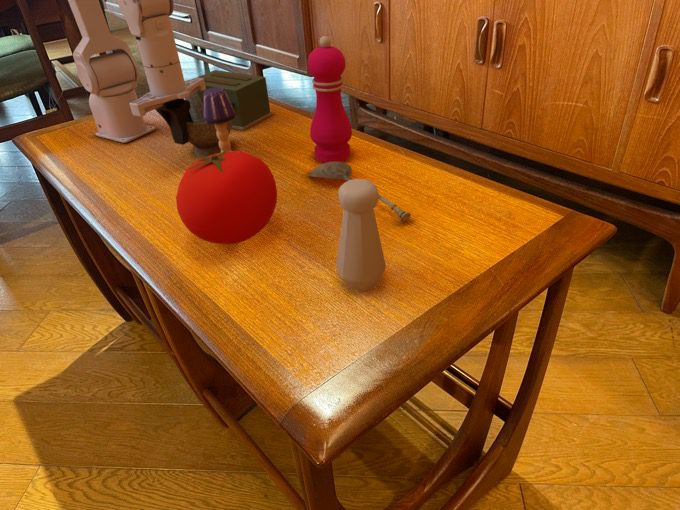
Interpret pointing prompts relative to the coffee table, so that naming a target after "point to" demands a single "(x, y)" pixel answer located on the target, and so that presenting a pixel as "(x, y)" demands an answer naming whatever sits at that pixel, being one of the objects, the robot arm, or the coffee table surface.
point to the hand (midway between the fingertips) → (182, 142)
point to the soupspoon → (343, 173)
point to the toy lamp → (218, 114)
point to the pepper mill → (329, 104)
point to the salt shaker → (359, 236)
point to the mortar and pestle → (202, 129)
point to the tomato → (226, 197)
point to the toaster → (241, 96)
